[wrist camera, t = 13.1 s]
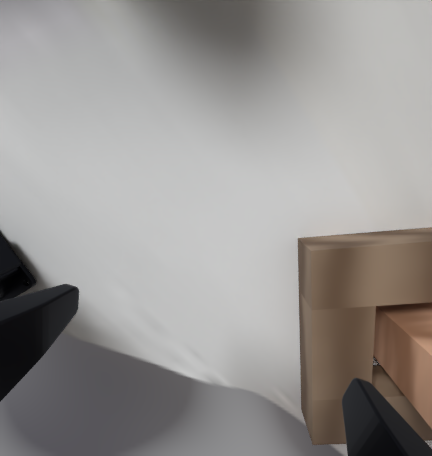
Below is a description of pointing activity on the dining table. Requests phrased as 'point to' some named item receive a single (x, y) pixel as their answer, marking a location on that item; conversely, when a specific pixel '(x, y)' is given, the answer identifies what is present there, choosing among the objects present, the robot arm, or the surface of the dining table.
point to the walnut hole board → (354, 318)
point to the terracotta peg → (407, 351)
